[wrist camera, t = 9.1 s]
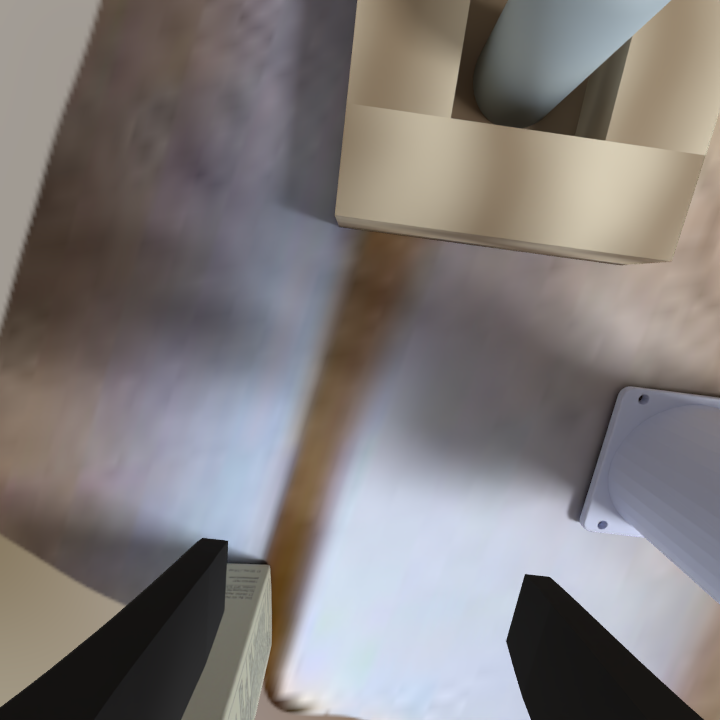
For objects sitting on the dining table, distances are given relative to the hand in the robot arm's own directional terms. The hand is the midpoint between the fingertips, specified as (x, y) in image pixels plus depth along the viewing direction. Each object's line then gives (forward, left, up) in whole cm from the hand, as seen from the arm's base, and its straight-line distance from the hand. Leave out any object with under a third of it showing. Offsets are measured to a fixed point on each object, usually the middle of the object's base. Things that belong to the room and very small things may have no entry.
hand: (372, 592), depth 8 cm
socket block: (-4, -16, -9) cm, 19 cm away
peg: (-4, -16, -9) cm, 19 cm away
